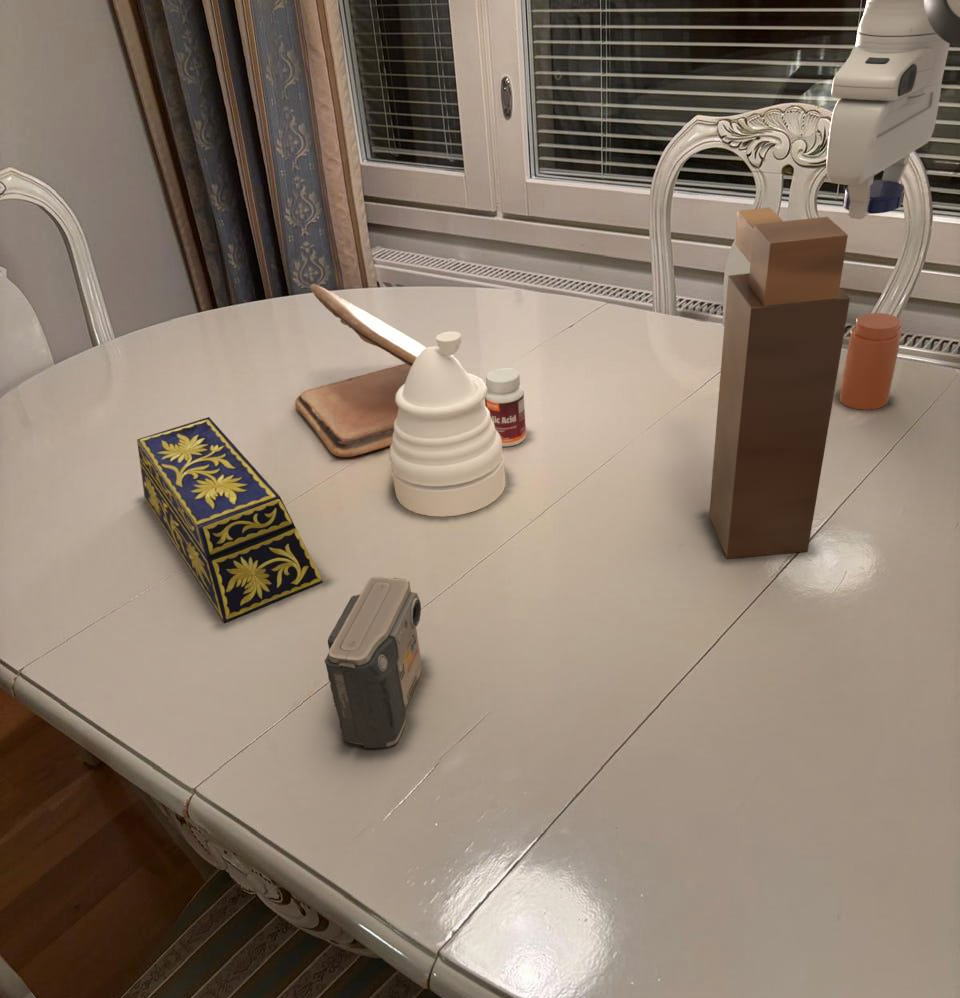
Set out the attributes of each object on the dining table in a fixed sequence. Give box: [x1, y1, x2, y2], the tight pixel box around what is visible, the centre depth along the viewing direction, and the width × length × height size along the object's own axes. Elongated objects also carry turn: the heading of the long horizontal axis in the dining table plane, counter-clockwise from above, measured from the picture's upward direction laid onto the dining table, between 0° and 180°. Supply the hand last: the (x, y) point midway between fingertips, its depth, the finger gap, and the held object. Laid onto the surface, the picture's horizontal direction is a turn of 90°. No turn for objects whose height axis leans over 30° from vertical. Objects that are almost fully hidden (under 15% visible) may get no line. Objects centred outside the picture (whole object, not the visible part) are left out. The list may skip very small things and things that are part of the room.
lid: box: [842, 179, 905, 215], centre depth 101 cm, size 6×6×2 cm
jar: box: [838, 312, 903, 411], centre depth 110 cm, size 6×6×10 cm
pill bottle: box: [484, 367, 527, 447], centre depth 111 cm, size 5×5×8 cm
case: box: [294, 283, 427, 458], centre depth 118 cm, size 20×21×16 cm
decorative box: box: [136, 416, 324, 624], centre depth 99 cm, size 11×30×9 cm, turn 31°
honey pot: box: [389, 330, 507, 518], centre depth 100 cm, size 13×13×18 cm
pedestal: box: [708, 272, 851, 560], centre depth 85 cm, size 8×8×25 cm
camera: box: [324, 576, 423, 749], centre depth 76 cm, size 11×6×10 cm, turn 164°
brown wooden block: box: [734, 207, 849, 306], centre depth 79 cm, size 16×6×5 cm, turn 2°
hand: (872, 207), depth 102 cm, fingers closed on lid, 6 cm apart
